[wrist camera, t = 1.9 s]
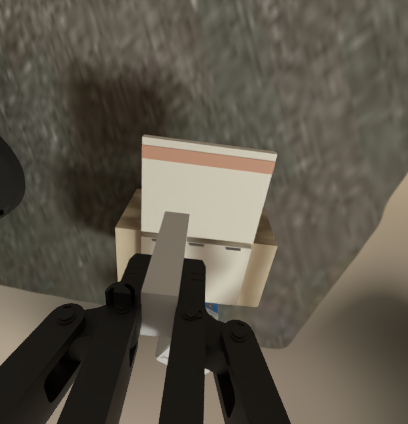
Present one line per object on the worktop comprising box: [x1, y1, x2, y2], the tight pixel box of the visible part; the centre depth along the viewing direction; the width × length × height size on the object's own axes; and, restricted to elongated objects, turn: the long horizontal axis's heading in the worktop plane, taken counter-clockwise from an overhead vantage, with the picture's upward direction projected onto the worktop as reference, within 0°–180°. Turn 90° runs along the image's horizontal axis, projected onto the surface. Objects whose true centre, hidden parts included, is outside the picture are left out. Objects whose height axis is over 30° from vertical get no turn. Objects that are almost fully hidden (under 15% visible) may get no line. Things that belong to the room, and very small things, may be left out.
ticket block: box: [115, 188, 277, 307], centre depth 36 cm, size 18×10×11 cm, turn 83°
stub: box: [141, 134, 277, 244], centre depth 26 cm, size 12×10×1 cm
